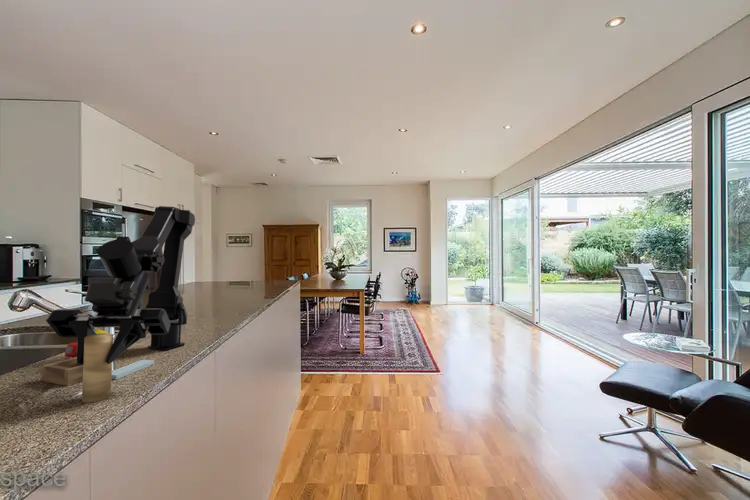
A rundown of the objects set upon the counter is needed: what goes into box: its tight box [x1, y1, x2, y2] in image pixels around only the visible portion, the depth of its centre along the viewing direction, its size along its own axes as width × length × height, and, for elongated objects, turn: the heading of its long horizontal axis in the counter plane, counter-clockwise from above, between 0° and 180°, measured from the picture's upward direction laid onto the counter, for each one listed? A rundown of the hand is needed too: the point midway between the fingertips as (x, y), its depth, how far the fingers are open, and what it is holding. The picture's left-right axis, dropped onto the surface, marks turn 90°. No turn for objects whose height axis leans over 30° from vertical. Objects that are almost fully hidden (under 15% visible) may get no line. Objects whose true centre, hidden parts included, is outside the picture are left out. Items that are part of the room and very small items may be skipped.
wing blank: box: [111, 359, 155, 380], centre depth 74 cm, size 10×3×1 cm, turn 173°
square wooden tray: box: [41, 357, 83, 387], centre depth 70 cm, size 8×8×3 cm
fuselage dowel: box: [81, 333, 114, 403], centre depth 61 cm, size 4×4×11 cm
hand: (93, 363), depth 59 cm, fingers closed on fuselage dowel, 4 cm apart
